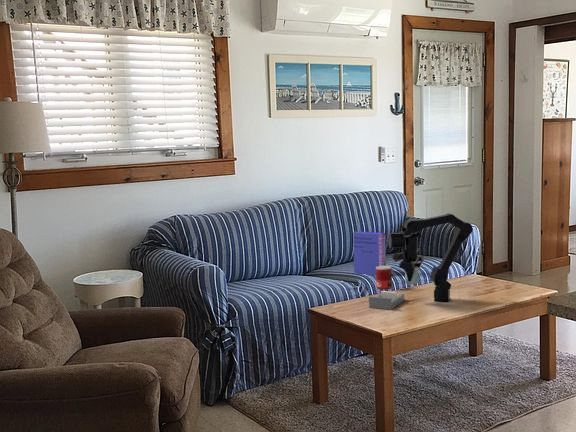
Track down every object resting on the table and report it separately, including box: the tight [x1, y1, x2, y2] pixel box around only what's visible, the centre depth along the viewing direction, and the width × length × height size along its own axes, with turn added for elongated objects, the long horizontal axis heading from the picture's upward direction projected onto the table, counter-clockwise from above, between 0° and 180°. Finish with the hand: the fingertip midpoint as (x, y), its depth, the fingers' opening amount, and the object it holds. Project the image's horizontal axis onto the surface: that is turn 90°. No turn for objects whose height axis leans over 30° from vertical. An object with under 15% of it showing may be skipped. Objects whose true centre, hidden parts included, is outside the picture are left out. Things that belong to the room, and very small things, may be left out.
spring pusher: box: [380, 290, 398, 300], centre depth 305 cm, size 7×1×4 cm, turn 62°
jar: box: [404, 266, 419, 285], centre depth 302 cm, size 6×6×7 cm
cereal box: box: [352, 230, 387, 277], centre depth 366 cm, size 17×5×24 cm, turn 58°
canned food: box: [375, 265, 393, 291], centre depth 333 cm, size 8×8×11 cm
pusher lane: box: [368, 293, 406, 311], centre depth 302 cm, size 10×19×5 cm, turn 152°
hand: (411, 279), depth 302 cm, fingers closed on jar, 6 cm apart
